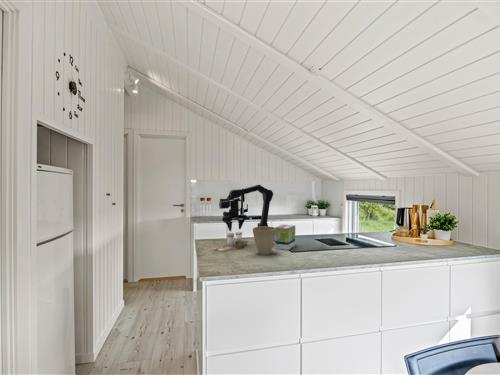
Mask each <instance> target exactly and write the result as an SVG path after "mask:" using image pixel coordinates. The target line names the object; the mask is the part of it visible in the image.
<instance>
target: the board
mask: <svg viewBox="0 0 500 375" xmlns="http://www.w3.org/2000/svg"><path fill="white" fill-rule="evenodd" d="M235 249H236V248H235V246H234V247H231V246H227V245H221V246H217V247H213V248H211V250H212V251H216V252H220V253H224V252H228V251H231V250H235Z"/></svg>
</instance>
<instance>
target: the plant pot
mask: <svg viewBox="0 0 500 375" xmlns="http://www.w3.org/2000/svg"><path fill="white" fill-rule="evenodd" d="M275 233H276V228H275V227H274V226H268V227H266V226H265V227H257V226H255V227H253V228H252V234H253V239H254V242H255V246H256V248H257V252H258V254H259V255H263V256H265V255H271V254H272V252H273V251H272V250H273V247H274V245H275Z"/></svg>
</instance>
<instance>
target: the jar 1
mask: <svg viewBox="0 0 500 375" xmlns="http://www.w3.org/2000/svg"><path fill="white" fill-rule="evenodd" d="M226 238H227V240H226V241H227V245H226V246H231V247H235V234H234V235H233V234H229V235H228V234H227V235H226Z"/></svg>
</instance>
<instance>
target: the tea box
mask: <svg viewBox="0 0 500 375" xmlns="http://www.w3.org/2000/svg"><path fill="white" fill-rule="evenodd" d="M275 228H276V233H275V240H274V247H275V249H276V250H285V251H289V250H291V249H292V248H294V247H295V246H296V225H295V224H294V225H293V224H280V225H278V226H276V227H275Z"/></svg>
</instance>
